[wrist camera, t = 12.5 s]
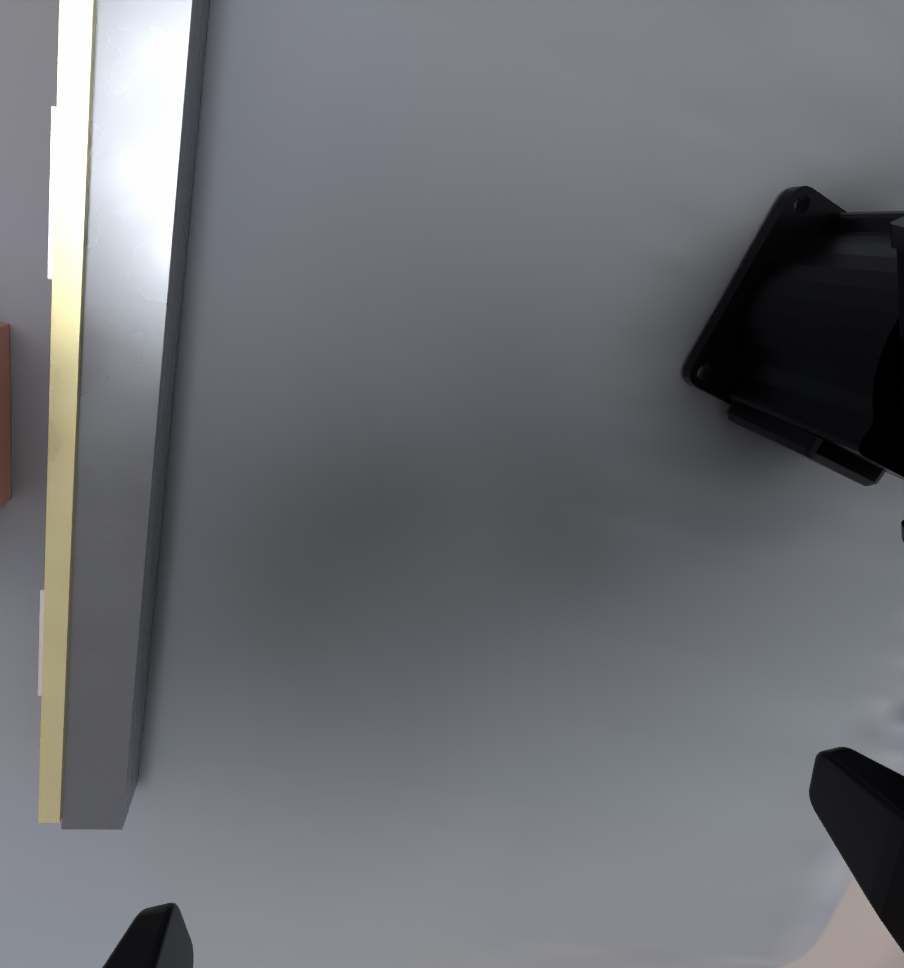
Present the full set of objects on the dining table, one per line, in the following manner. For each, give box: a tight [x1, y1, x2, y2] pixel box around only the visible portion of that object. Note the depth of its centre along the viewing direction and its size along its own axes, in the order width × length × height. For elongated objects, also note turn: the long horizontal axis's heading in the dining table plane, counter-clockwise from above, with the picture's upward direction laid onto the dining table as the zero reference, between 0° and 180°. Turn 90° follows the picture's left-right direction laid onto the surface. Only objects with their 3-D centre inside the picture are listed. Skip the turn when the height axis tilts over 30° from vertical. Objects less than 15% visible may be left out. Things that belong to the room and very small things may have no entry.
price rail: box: [38, 0, 210, 829], centre depth 17 cm, size 3×26×2 cm, turn 166°
